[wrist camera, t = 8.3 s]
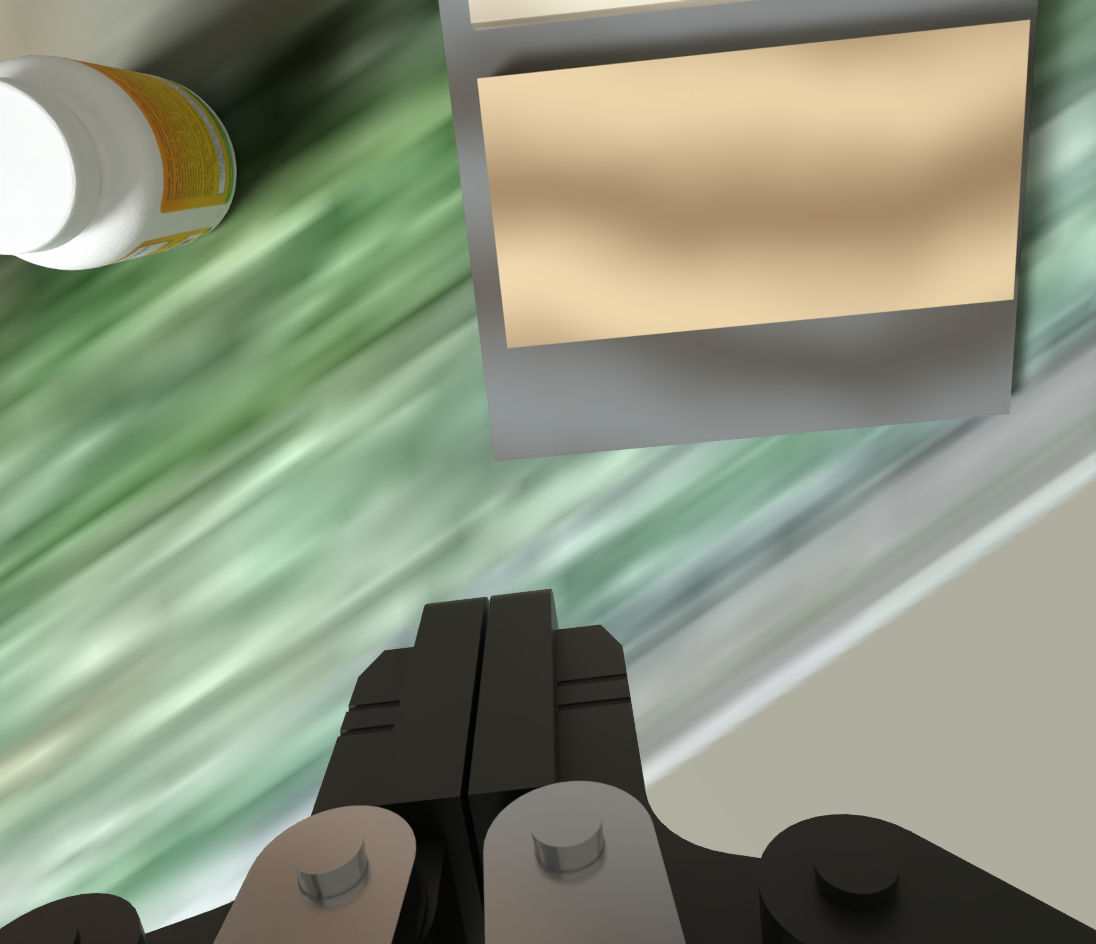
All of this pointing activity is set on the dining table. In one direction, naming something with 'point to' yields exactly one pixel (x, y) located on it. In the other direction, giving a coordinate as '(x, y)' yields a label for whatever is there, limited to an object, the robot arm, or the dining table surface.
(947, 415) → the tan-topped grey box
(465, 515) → the dining table surface
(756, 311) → the oak plank
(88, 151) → the supplement bottle
